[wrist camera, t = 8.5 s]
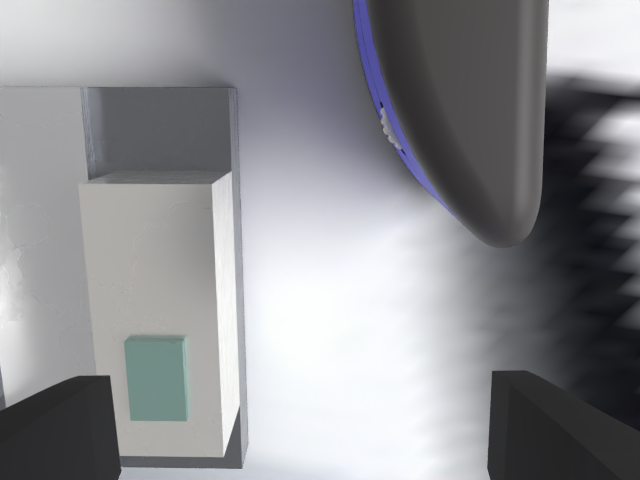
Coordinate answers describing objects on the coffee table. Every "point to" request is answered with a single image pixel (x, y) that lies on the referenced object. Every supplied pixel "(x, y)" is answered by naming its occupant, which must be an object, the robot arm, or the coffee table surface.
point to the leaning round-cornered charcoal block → (463, 102)
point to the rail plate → (128, 262)
